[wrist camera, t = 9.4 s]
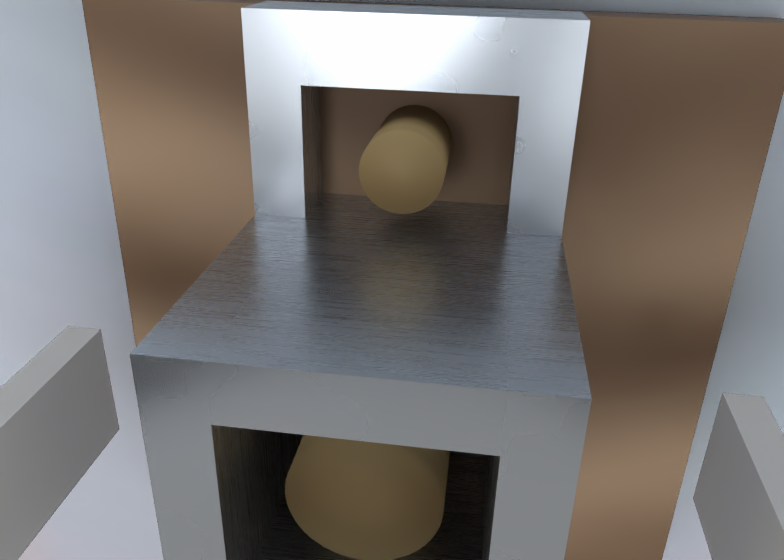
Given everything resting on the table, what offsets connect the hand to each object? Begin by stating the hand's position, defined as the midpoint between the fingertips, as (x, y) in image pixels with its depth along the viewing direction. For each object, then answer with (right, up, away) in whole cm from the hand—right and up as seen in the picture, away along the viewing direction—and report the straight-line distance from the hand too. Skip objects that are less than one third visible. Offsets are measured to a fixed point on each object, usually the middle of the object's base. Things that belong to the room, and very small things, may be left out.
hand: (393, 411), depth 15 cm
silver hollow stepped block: (0, +2, +4) cm, 4 cm away
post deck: (+1, +2, +5) cm, 6 cm away
